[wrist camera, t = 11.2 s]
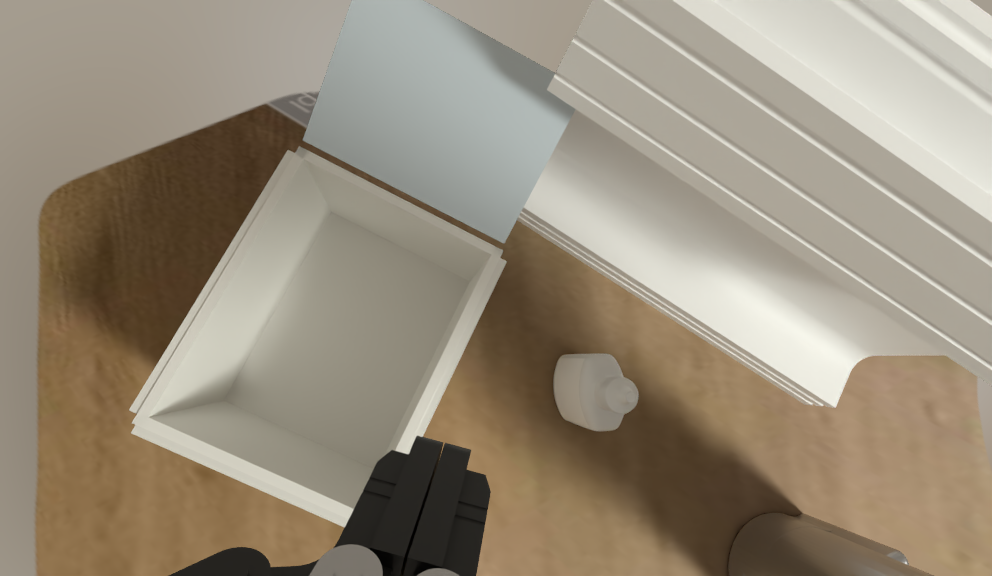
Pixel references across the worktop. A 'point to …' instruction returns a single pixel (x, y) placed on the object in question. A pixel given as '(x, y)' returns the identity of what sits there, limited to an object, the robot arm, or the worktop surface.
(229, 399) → the carton
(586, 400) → the eye dropper bottle
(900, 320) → the white magazine holder
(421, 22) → the carton flap
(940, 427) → the worktop surface
